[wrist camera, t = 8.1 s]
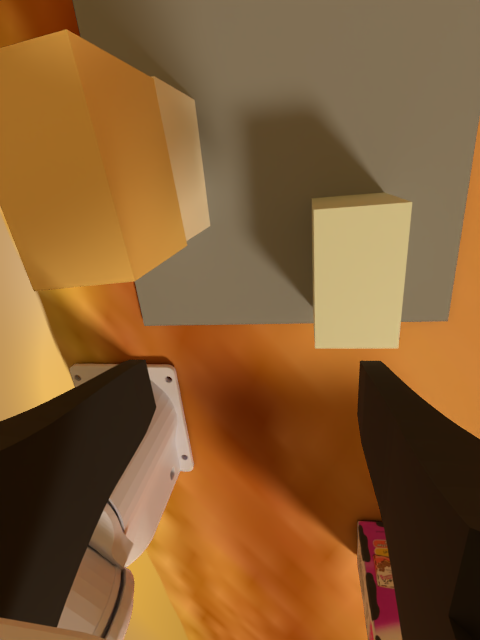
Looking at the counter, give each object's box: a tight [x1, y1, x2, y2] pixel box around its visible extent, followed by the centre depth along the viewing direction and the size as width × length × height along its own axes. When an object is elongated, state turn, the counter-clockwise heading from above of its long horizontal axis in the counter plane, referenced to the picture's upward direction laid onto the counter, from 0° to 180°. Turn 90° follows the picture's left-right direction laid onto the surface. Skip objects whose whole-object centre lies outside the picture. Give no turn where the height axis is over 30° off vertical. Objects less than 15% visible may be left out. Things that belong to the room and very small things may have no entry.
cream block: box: [152, 76, 210, 241], centre depth 16 cm, size 6×4×5 cm, turn 6°
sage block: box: [312, 192, 412, 348], centre depth 16 cm, size 6×4×5 cm, turn 5°
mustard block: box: [0, 29, 187, 291], centre depth 12 cm, size 6×4×5 cm, turn 8°
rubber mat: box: [72, 0, 480, 326], centre depth 17 cm, size 18×18×1 cm
